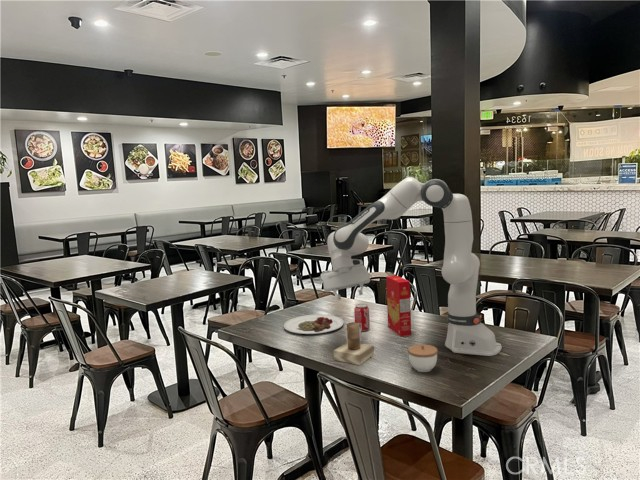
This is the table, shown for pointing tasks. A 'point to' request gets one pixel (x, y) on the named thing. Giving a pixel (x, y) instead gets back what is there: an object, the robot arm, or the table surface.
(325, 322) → the plated food
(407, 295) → the food packaging
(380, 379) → the table surface
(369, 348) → the birch riser
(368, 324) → the soda can
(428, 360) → the lidded jar
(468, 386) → the table surface
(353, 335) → the walnut cylinder
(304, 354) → the table surface
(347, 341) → the shot glass
